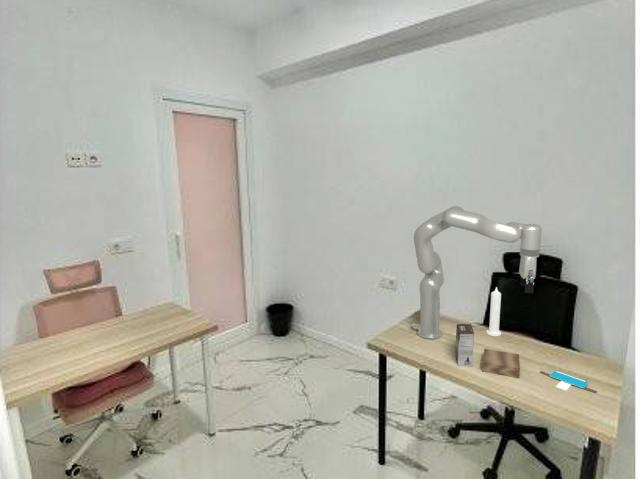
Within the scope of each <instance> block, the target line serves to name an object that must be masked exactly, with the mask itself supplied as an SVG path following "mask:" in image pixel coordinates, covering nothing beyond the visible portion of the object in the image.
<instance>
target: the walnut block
mask: <svg viewBox="0 0 640 479" xmlns="http://www.w3.org/2000/svg"><path fill="white" fill-rule="evenodd" d="M520 370H521V362H520V354H519V353H514V352H507V351H501V350H495V349H490V348H483V358H482V368H481V371H482V373H487V374H488V373H489V374H493V375H498V376H504V377H508V378H514V379H520Z"/></svg>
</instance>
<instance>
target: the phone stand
mask: <svg viewBox="0 0 640 479" xmlns="http://www.w3.org/2000/svg"><path fill="white" fill-rule="evenodd" d="M540 373H541V374H543V375H545V376H547V377H549V378H550V377H551V378H553V379H556V380H559V383H557V385H556V386H555V388H557V389H560V390H563V391H568V389H569V388H570V387H571V386H576V387H578V388H580V389H582V390H586V391H590V392H592V393H595V394H597V392H598V391H597V390H594V389H592V388H590V387H587V385H588V381H587V379H584V378H581V377H579V376H576V375H573V374H569V373H567V372H564V371H561V370H558V369H556V370H554V371H552V372H551V373H547V372H545V371H542V370H541V371H540V370H539V374H540Z"/></svg>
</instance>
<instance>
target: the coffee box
mask: <svg viewBox="0 0 640 479" xmlns="http://www.w3.org/2000/svg"><path fill="white" fill-rule="evenodd" d="M455 335H456V337H455V358H456V364H457V366H459V367H473V365H474V364H473V363H474V361H473V359H474V343H475V342H474V341H475V332H474V329H473V325H472V324H471V323H470V324H469V323H456V334H455Z"/></svg>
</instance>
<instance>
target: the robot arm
mask: <svg viewBox="0 0 640 479" xmlns="http://www.w3.org/2000/svg"><path fill="white" fill-rule="evenodd" d="M451 227H454V228H457V229H462V230H466V231H470V232H473V233H477V234H479V235H480V236H484V237H485V238H489V239H491V240H496V241H500V242H503V243H508V244H510V243H511V244H513V243H516V242H517V241H519V240H520V247H519V249H520V250H519V256H520V261H519V262H520V263H519V268H518V269H519V270H518V273H519V275H520V284H519V285H520V286H523V287H524V294H534V287H535V282H534V279H536V274H537V261H538V260H537V258H539V257H540V252H541V251H540V250H541V240H542V232H543V230H542V229H543V228H542V226H541V225H540V224H536V223H521V222H516V221H514V222H513V221H511V222H507V223H506V224H505V223H504V224H503V223H500V222H496V221H493V220H491V219H489V218H487V217H486V216H485V215H483V214H481V213H476V212H472V211H468V210H464V209H463V208H462V207H460V206H457V205H453V206H451V207H449V208H447V209H446V210H444V211H442V212H440V213H437V214H436V215H434V216H432V217H430V218H429V219H427V220H425V221H424V222H423V223H421V224H420V225H419V226H418V227H417V228H416V229H415V231H414V233H413V243H414V249H415V254H416V255H415V256H416V260H417V261H416V262H417V267H418V269H419V271H420V272H421V273H422V274H424V276H423V277H422V278H421V280H420V284H419V296H420V304H419V306H420V307H419V308H420V310H419V311H420V312H419V318H420V319H419V321H420V322H418V323H414V322H412V324H411V328H412V329H415V330H416V333H417V335H418V336H419V337H420V338H423V339H427V340H436V339H439V338H441V337H442V336H443V331H442V330H441V329H440V315H441V314H440V313H441V312H440V310H441V307H440V306H441V301H440V300H441V298H440V295H441V294H440V291H441V290H440V289H441V287H442V286H443V285H444V281H445V278H444V276H445V275H444V270H443V264H442V260H441V259H442V258H441V256H440V255H439V253H438V252H437V251H434V246H433V242H432V240H433V238H434V237H436V236H437V235H439V234H440V233H441V232H443V231H445V230H447V229H449V228H451Z"/></svg>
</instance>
